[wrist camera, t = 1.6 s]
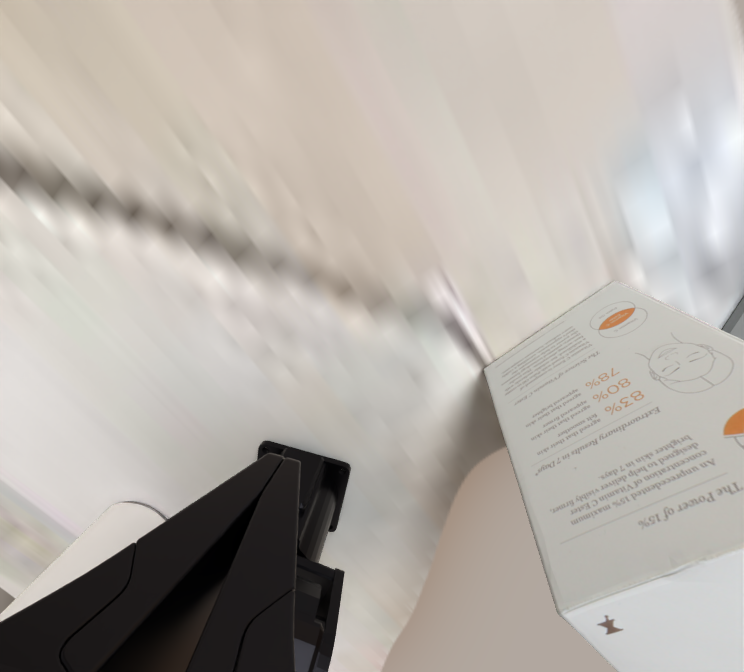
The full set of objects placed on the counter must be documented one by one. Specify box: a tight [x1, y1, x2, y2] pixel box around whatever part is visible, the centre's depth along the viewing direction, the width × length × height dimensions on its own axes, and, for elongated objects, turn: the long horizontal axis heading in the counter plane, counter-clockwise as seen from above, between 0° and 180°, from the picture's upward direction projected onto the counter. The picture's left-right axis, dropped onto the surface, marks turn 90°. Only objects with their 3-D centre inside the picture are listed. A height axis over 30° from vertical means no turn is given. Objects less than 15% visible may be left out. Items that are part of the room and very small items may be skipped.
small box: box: [484, 281, 744, 672], centre depth 14 cm, size 8×6×13 cm
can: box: [0, 502, 167, 622], centre depth 25 cm, size 6×6×12 cm
